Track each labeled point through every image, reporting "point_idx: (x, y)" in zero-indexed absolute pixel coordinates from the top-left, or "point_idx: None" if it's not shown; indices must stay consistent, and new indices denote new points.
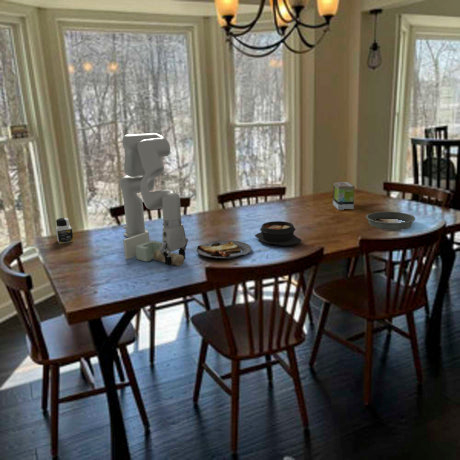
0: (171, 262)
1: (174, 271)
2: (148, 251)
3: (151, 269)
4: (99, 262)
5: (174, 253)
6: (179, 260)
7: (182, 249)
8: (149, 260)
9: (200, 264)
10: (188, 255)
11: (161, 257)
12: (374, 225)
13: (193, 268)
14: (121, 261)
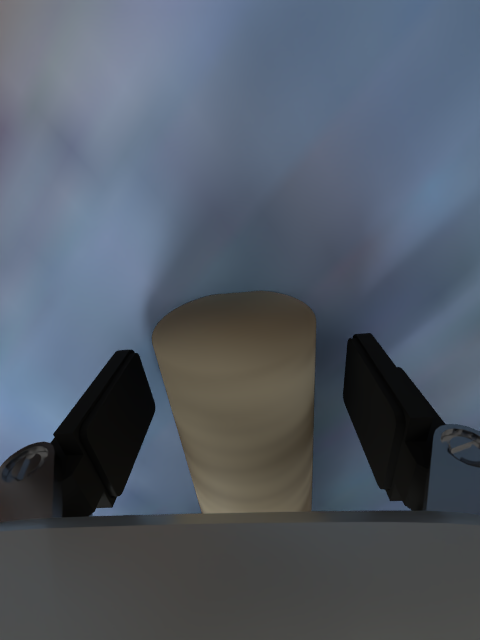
0: (361, 354)
1: (439, 196)
2: None
3: (468, 422)
4: None
5: (225, 473)
6: (252, 321)
7: (68, 480)
8: None
9: (22, 88)
10: (23, 418)
11: (311, 506)
12: None
13: (202, 32)
14: None
